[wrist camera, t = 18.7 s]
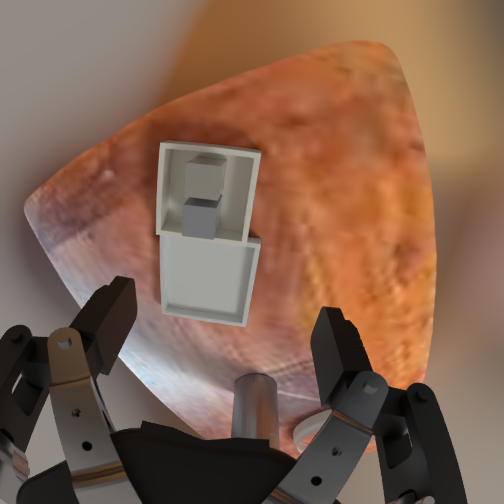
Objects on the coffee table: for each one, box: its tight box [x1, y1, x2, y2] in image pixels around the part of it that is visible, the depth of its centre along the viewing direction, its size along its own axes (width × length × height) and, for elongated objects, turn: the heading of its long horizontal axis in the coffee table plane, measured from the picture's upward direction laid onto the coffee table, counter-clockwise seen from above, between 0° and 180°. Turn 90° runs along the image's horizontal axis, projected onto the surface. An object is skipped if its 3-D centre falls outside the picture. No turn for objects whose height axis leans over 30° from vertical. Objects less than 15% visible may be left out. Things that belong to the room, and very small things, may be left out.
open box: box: [156, 140, 261, 247], centre depth 36 cm, size 12×12×4 cm
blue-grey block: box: [182, 195, 223, 240], centre depth 35 cm, size 4×4×6 cm
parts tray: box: [160, 235, 261, 327], centre depth 43 cm, size 15×14×2 cm
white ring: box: [293, 409, 375, 453], centre depth 65 cm, size 27×27×6 cm
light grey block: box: [184, 156, 227, 201], centre depth 33 cm, size 4×4×6 cm
